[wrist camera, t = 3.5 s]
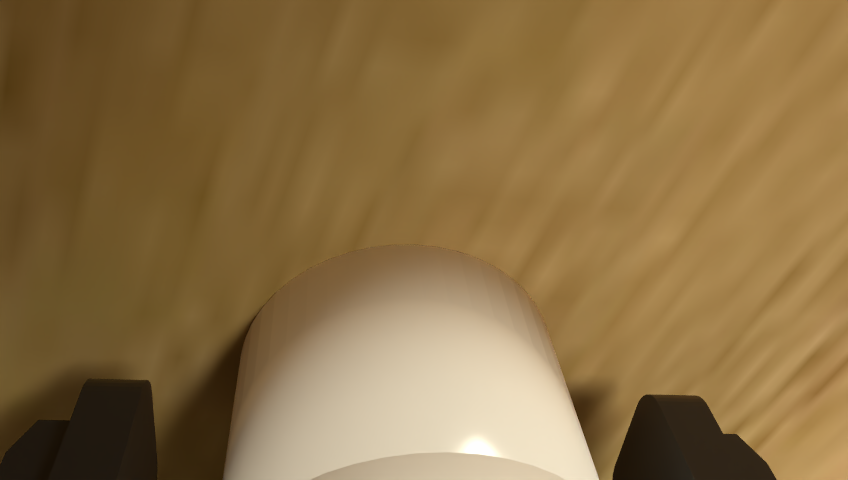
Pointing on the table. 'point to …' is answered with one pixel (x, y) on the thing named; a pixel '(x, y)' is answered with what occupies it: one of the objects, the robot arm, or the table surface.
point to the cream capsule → (403, 377)
